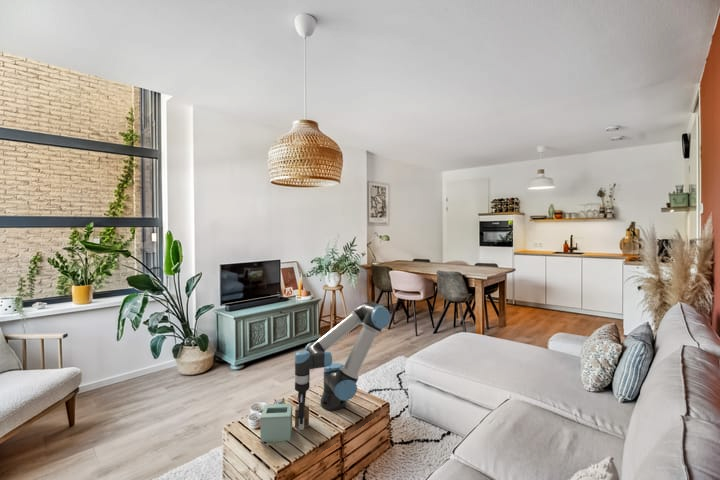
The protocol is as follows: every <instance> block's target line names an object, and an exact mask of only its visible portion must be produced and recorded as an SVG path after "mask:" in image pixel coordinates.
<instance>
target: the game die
mask: <svg viewBox="0 0 720 480" xmlns="http://www.w3.org/2000/svg"><path fill="white" fill-rule="evenodd" d="M273 400H274V402H273V404H286V402H285V397H283V398H282V399H281V398H280V399H276V398H274V399H273Z"/></svg>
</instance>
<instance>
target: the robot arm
mask: <svg viewBox="0 0 720 480" xmlns="http://www.w3.org/2000/svg"><path fill="white" fill-rule="evenodd" d="M390 321H391V314H390V311H389V309H387V308H386V307H385V306H383V305H381V304H378V303H376V302H375V301H366V302H363V303H361V304H360V305H358V306H357V307H355V308H353V310H352V311H351V313H350V314H349V315H348V316H346V317H345V318H344V319H343V320H341V321H340V322H339V323H338V324H336V325H335V326H334V327H333V328H331V329H330V330H329V331H327V332H326V333H325V334H324V335H322V336H321V337H320V338H319V339H318V340H316V341H314V342H309V343H308V344H307V345H305V348H304V350H298V351H296V353H295V356H294V375H293V378H294V391H296V392H298V393H297V399H298V407H299V416H297V418H299V427H298V430H299V431H301V430H305V427H304V407H306V406H307V404H306V397H307V391H309V389H310V381H311V379H310V377H311V375H310V373H311V372H310V371H311V370H314V369H315V370H316V369H321V368H323V392H322V395H321V398H320V402H319V403H320V407H322V409H325V410H327V411H339V410H341V409H343V408H345V407H346V405H347V401H348V400H351V399H352V398H354V397H355V395H356V393H357V392H358V386H357V383H358V381H359V372H360V369H361V367H362V365H363V363H364V361H365V359H366V357H367V355H368V353H369V350H370V348H371V346H372V344H373V343H374V340H375V338H376V336H377V335H378V334H380V333H381V332H382V329H385V328H387V326H389V324H390ZM359 325H362V328H361V330H360V332H359V333H358V336H357V338H356V341H355V343H354V345H353V346H352V348H351V351H350V352H349V355H348V356H347V358H346V360H345V363H344V364H343V363H339V362H333V356H332V353H331V352H330V351H328V349H330V348H331V347H332V346H333V345H335V344H336V343H337V342H338V341H340V340H341V339H342V338H344V337H345V336H346V335H347V334H348V333H350V332H351V331H352V330H353V329H354V328H356V327H357V326H359Z"/></svg>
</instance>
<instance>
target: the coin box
mask: <svg viewBox="0 0 720 480" xmlns="http://www.w3.org/2000/svg"><path fill="white" fill-rule="evenodd" d="M259 419H260V421H259V422H260V423H259V424H260V425H259V426H260V428H259V429H260V438H259V439H260V443H264V442H267V443H268V442H282V441H284V442H285V441H291V437H292V429H293V403H290V402H289V403H285V404H274V403H273V404H267V403H266V404H264V406H263V408H262V412H261V415H260V418H259Z"/></svg>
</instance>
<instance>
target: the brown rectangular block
mask: <svg viewBox="0 0 720 480" xmlns="http://www.w3.org/2000/svg"><path fill="white" fill-rule="evenodd" d="M297 416H299V406H295V408H294V427H295V428H299V418H297ZM309 426H310V406H309V405H308V406H307V405H306V407H304V428H306V427H309Z"/></svg>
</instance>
